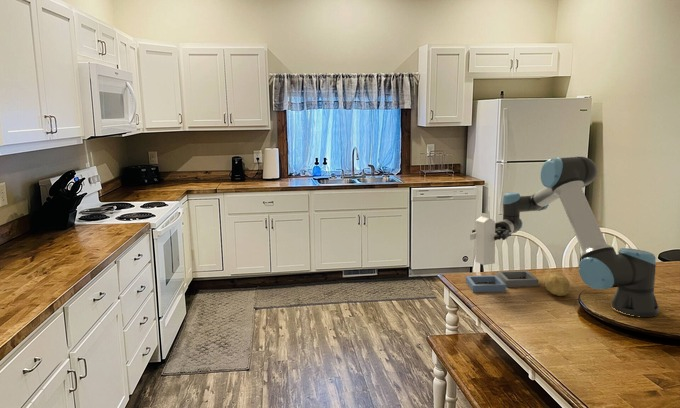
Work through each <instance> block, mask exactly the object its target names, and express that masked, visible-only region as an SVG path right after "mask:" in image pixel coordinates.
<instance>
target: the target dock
mask: <svg viewBox="0 0 680 408" xmlns="http://www.w3.org/2000/svg"><path fill="white" fill-rule="evenodd" d="M476 282H477V283H476ZM478 282H487V283H478ZM489 282H494V283H490V284H489ZM465 283H466V285H467V284H468V285H467V286H468V288H469V287H470V288H471V289H470V288H469V289H470V290H471V292H472V291H473V292H472V293H495V292H496V293H501V292H507V287H506V284H505V283H504V282H503V281H502V280H501V279H500V278H499V277H498V276H497V274H495V275H493V274H492V275H491V274H490V275H466V276H465Z"/></svg>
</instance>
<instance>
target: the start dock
mask: <svg viewBox="0 0 680 408" xmlns="http://www.w3.org/2000/svg"><path fill="white" fill-rule="evenodd" d="M496 273H497V274H496V275H497V276H498V277H499V278H500V279H501V280H502V281H503V282H504V283H505V284H506V288H513V287H514V288H517V287H519V288H520V287H521V286H526V287H539V279H538V277H536V276H535V275H534V274H532V273H531V272H530V271H529V270H502V271H498V270H497V271H496ZM520 277H521V278H520ZM523 277H525V278H523ZM521 288H522V287H521Z"/></svg>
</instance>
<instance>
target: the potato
mask: <svg viewBox="0 0 680 408" xmlns="http://www.w3.org/2000/svg"><path fill="white" fill-rule="evenodd" d="M544 285H545V289H546V290H547V291H549V293H551V294H552V295H554V296H558V297H562V296H563V297H564V296H567V294H568V293H570V288H571V287H570V286H571V285H570V281H569V279H568V278H567V277H566V276H565V275H564V274H563V273H562V272H560V271H558V270H557V271H556V270H555V271H552V272H551V273H549V274H548V275H547V277H546V279H545V282H544Z"/></svg>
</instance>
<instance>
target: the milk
mask: <svg viewBox="0 0 680 408" xmlns="http://www.w3.org/2000/svg"><path fill="white" fill-rule="evenodd" d="M490 217H491V216H490V214H489V213H484V212H481V214H480V217H478V218H477V219H475V229H476V239H475V257H474V258H475V262H476V263H478V264H479V265H480V264H481V265H482V266H485V265H486V266H487V265H492V264H493V265H494V264H495V263H496V240H495V241H493V242H491V243H490V242H489V236H491V235H493V234H495V223H496V221H495V220H494V219H492V218H490Z"/></svg>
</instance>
